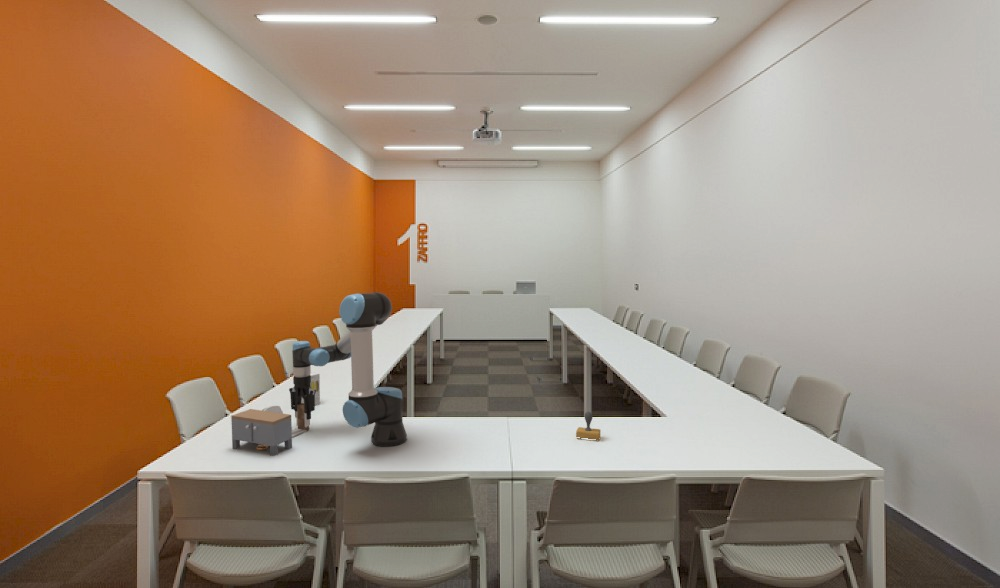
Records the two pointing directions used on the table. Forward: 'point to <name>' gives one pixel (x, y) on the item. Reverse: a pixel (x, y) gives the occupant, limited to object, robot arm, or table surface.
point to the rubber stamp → (588, 429)
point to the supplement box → (315, 387)
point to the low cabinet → (262, 429)
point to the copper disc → (262, 447)
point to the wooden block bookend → (300, 421)
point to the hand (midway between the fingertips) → (303, 425)
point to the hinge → (273, 409)
